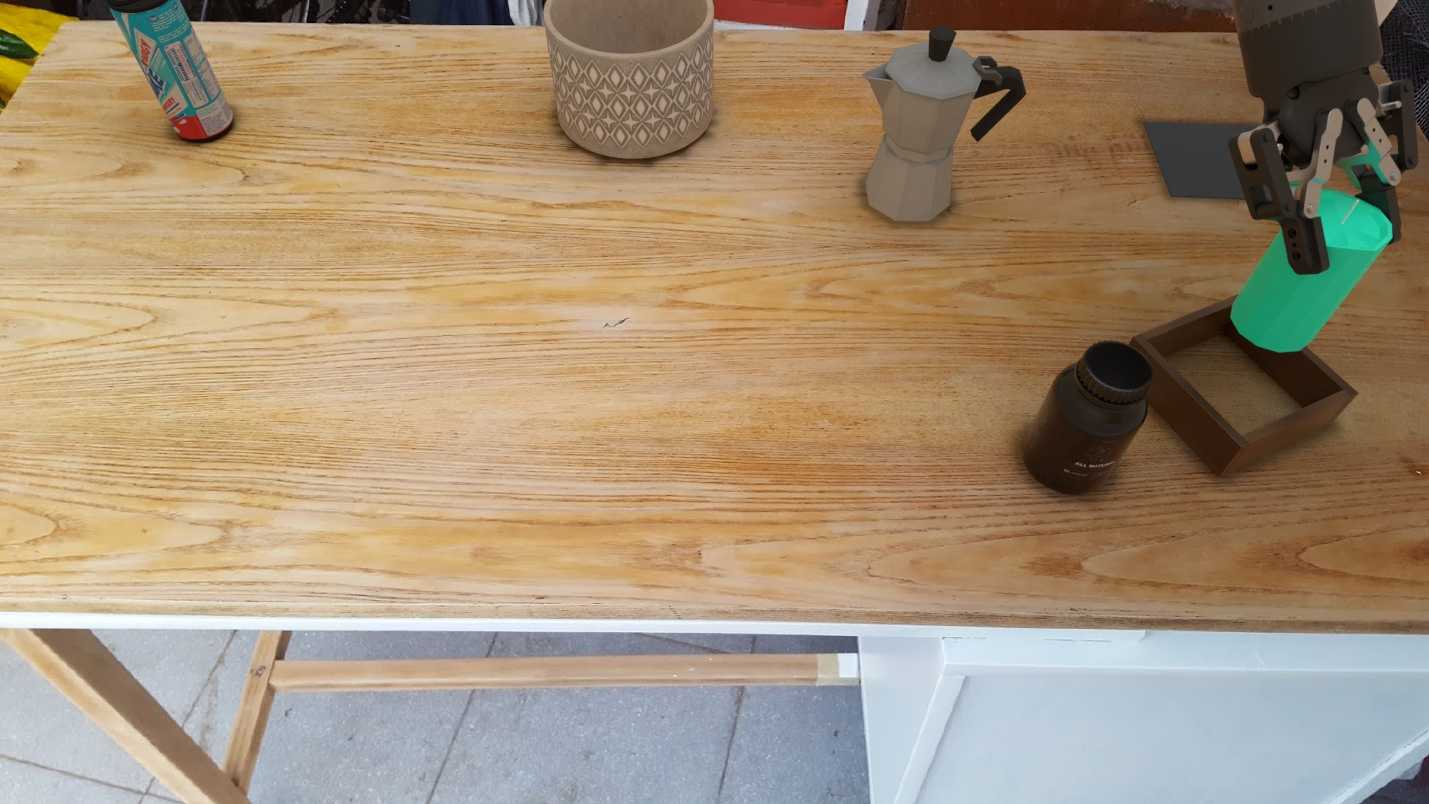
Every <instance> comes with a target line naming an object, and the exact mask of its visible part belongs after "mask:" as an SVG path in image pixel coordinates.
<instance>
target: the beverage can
mask: <svg viewBox="0 0 1429 804" xmlns="http://www.w3.org/2000/svg"><path fill="white" fill-rule="evenodd" d="M105 3H106V5H107V7H108V8H109V10H110V13H111V15H112V16H113V19H114V20H115V22H116V24H117V26H118V28H119V30H120V31H121V33H122V35H123V37H124V39H125V41H126V43H127V45H128V47H129V49H130V51H131V53H132V54H133V56H134V59H135V60H136V61H137V63H138V65H139V67H140V69H141V72H142V73H143V75H144V76H145V78H146V80H147V82H148V84H149V86H150V87H151V89H152V91H153V93H154V95H155V97H156V99H157V100H158V102H159V104H160V106H161V108H162V110H163V112H164V114H165V116H166V117H167V120H168V121H169V123H170V125H171V126H172V128H173V130H174V132H175V133H176V134H177V136H179V137H180V138H181V139H183V140H185V141H187V142H189V143H190V142H191V143H207V142H211V141H214V140H216V139H219V138H220V137H223V136H225V134H227V133H228V132H229V131H230V130H231V129H232V127H233V125H234V113H233V110H232V109H231V106H230V104H229V102H228V100H227V97H226V96H225V93H224V91H223V89H222V87H221V85H220V83H219V81H218V78H217V76H216V75H215V72H214V70H213V68H212V65H211V63H210V61H209V59H208V57H207V55H206V52H205V51H204V48H203V46H202V43H201V41H200V40H199V38H198V35H197V33H196V31H195V29H194V27H193V25H192V23H191V21H190V19H189V16H188V14H187V12H186V10H185V8H184V6H183V4H182V2H181V0H105Z"/></svg>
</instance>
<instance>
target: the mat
mask: <svg viewBox="0 0 1429 804" xmlns="http://www.w3.org/2000/svg"><path fill="white" fill-rule="evenodd" d="M1143 126H1144V128H1145V131H1146V134H1147V137H1148V139H1149V142H1150V144H1151V147H1152V150H1153V153H1154V155H1155V158H1156V160H1157V163H1158V166H1159V169H1160V171H1161V174H1162V177H1163V179H1164V182H1165V185H1166V187H1167V190H1168V193H1169V196H1170V197H1171V198H1193V199H1194V198H1196V199H1220V200H1243V201H1244V200H1245V201H1246V199H1245V196H1244V193H1243V190H1242V187H1241V184H1240V181H1239V178H1238V175H1237V172H1236V169H1235V166H1234V163H1233V159H1232V156H1231V153H1230V150H1229V147H1228V141H1229V139H1230V137H1231V136H1232V135H1235V134H1240V133H1244V132H1249V131H1252V130H1254V129H1255V128H1257V127H1258V125H1247V124H1245V125H1244V124H1221V123H1220V124H1219V123H1216V124H1215V123H1194V122H1193V123H1191V122H1162V121H1143ZM1263 188H1264V192H1265V195H1266V198H1267V200H1272V198H1271V194H1270V191H1269V188H1268V187H1267V186H1266V185H1263Z"/></svg>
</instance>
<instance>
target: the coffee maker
mask: <svg viewBox="0 0 1429 804" xmlns="http://www.w3.org/2000/svg"><path fill="white" fill-rule="evenodd" d="M956 36H957V31H956V30H955V29H953V28H952V27H950V26H946V25H941V24H940V25H936V26H932V27H931V28H930V30H929V32H928V40H925V41H921V42H918V43H913V44H908V45H906V46H902V47H896V48H894V50H893V52H892V54H891V56H890V57H889V60H888V61H886V62H884V63H882V64H880V65H878V66H876V67H874V68H872V69H870V70H867V71H865V72H864V73H861V74H860V77H861V78H863V79H865V80H866V81H868V83H869V85H870V87H871V90H872V92H873V94H874V96H875V99H876V101H877V103H878V106H879V108H880V110H881V120H882V121H881V122H882V130H883V132H884V134H883V135H882V138H881V141H880V143H879V145H878V148H877V150H876V154H875V156H874V159H873V161H872V163H871V167H870V169H869V171H868V174H867V177H866V180H865V183H864V185H865V189H866V190H865V192H866V197H867V202H868V206H869V207H871V208H872V209H875V210H876V211H877V212H879V213H881V214H883V215H884V216H886V217H887V218H889V219H891V220H893V221H895V222H931V221H932V220H933V219H934V218H935V217H937V216H938V215H939V214H940V213H942V212H943V211H944V210H945V209H947V208H948V207H949V206H950V205H951V195H952V179H953V164H954V146H955V143H956V142H957V138H958V136H959V134H960V132H961V129H962V127H963V124H964V123H965V120H966V117H967V115H968V112H969V109H970V108H971V105H972V102H973V100H976V99H979V98H984V97H986V96H989V95H992V94H995V93H999V92H1002V91H1004V90H1005V91H1006V90H1008V91H1007V92H1006V93H1005V94H1004V96H1002V97H1001V98H1000V100H998V102H996V104H994V106H992V107H991V108H990V109H989V110H988V111H987V112H986V113H985V115H983V116H982V117H981V118H980V120H978V121H977V122H976V123H975V124H974V126H972V127H971V128H970V129H969V131H970V132H969V133H970V135H971V137H972V139H974V140H975V141H976V143H979V142H980V141H981V140H982V139H983V138H984V137H985V136H986V135H987V134H988V133H989V132H990V131H992V129H993V128H995V126H996V125H998V123H999V122H1001V120H1002V119H1003V118H1004V117H1006V115H1008V114H1009V113H1010V112H1011V111H1012V109H1014V108H1015V107H1016V106H1017V105H1018V104H1019V103H1020V102H1021V101H1022V100H1023V99H1024V98H1025V97H1026V95H1027V90H1026V86H1025V83H1024V79H1023V76H1022V72H1021V69H1020V68H1017V67H1014V66H1012V65H1001V66H998V62H997V60H996V59H994V57H992V55H977V57H976V58H974V57H973V56H972V55H971V54H969V52H967V51H966V50H965V48H960V47H956V46H953V43H954V41H955V39H956Z"/></svg>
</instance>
